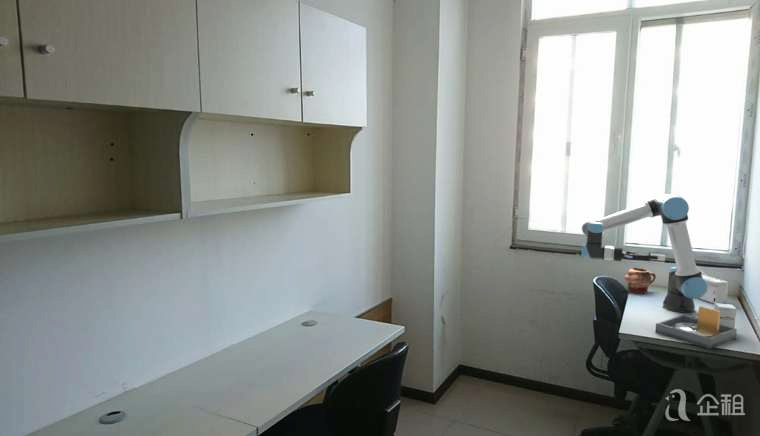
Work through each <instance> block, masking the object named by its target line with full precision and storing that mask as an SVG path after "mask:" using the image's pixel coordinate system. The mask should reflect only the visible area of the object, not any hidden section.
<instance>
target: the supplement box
mask: <svg viewBox="0 0 760 436" xmlns="http://www.w3.org/2000/svg"><path fill="white" fill-rule="evenodd" d="M714 310H718V311H721V312H720V322H719V324H720V325H723V326H727V327H731V328H735V325H736V324H735V323H736V317H737V307H735V306H734V305H733V304H728V303H723V304H720V303H715V304H714Z"/></svg>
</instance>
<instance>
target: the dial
mask: <svg viewBox="0 0 760 436" xmlns="http://www.w3.org/2000/svg"><path fill="white" fill-rule="evenodd" d="M720 312H721V311H718V310H714V309H713V308H709V307H706V306H702V305H701V306H698V312H697V313H698V314H697V319H698V322H697V324H695V323H677V324H675V327H674V328H677V329H680V330H684V331H687V332H691V333H694V334H698V335H701V336H705V337H708V338H710V337H713V336H716V335H718V332H719V322H720Z"/></svg>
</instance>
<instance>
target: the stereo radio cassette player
mask: <svg viewBox="0 0 760 436" xmlns="http://www.w3.org/2000/svg"><path fill="white" fill-rule="evenodd" d="M696 267H697V268H699V267H698V266H697V265H696ZM701 274H702V278H703V279H704V280H705V282H706V283H707V286H708V289H707V292H706V293H705V294H704V296H702V297H700V298H698V299H699V300H703V301H706V302H709V303H711V304H714V305H715V303H720V304H727V302H728V301H727V300H728V295H729V293H728V292H729V282H728V281H726V280H723V279H719V278H715V277H712V276H708V275H706V273H705V272H703V271H702V270H701Z"/></svg>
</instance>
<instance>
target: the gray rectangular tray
mask: <svg viewBox="0 0 760 436" xmlns="http://www.w3.org/2000/svg"><path fill="white" fill-rule="evenodd" d="M697 322H698V317H693V316H688V315H685V314H681V315H677V316H675V317H671V318H668V319H665V320H662V321H659V322H656V323H655V332H654V333H656V334H659V335H663V336H665V337H670V338H672V339H675V340H680V341H683V342H687V343H689V344H693V345H696V346H699V347H703V348H705V349H713V348H716V347H718V346H721V345H723V344H726V343H729V342H730V341H733V340H735V339H736V338H737V331H738V330H737V328H735V327H734V328H731V327H727V326H723V325H720V324H719V332H718V335H716V336H713V337H710V338H708V337H705V336H701V335H698V334H694V333H691V332H687V331H684V330H680V329H677V328H674V327H675V324H677V323H695V324H697Z"/></svg>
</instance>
